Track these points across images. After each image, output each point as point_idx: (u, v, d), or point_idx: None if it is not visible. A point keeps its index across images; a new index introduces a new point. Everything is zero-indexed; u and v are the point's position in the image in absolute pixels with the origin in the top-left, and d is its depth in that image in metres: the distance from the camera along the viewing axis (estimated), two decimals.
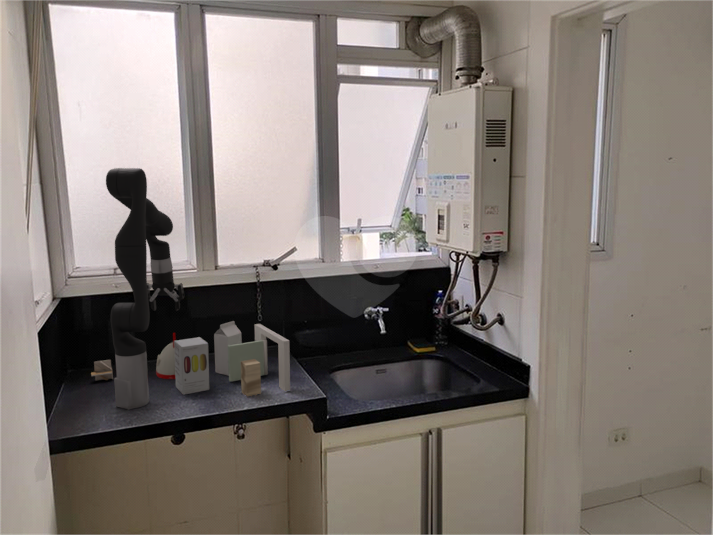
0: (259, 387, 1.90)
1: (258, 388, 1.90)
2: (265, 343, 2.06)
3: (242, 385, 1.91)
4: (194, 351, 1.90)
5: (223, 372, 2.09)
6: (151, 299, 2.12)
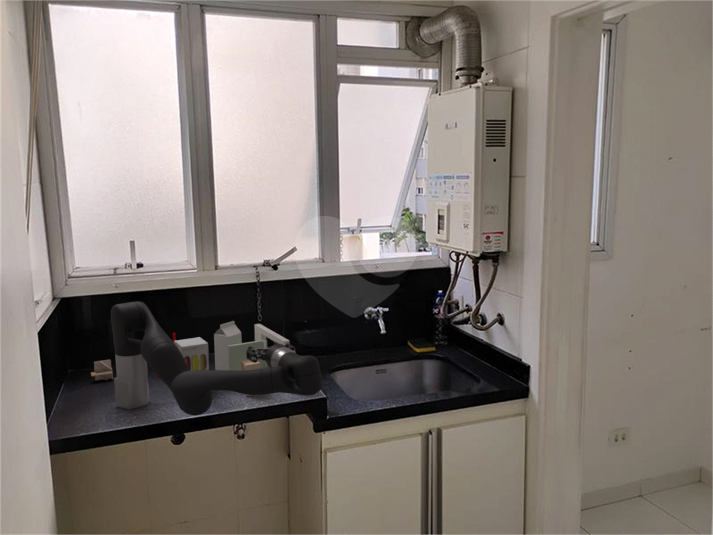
0: None
1: None
2: (265, 343, 2.06)
3: None
4: (194, 351, 1.90)
5: None
6: None
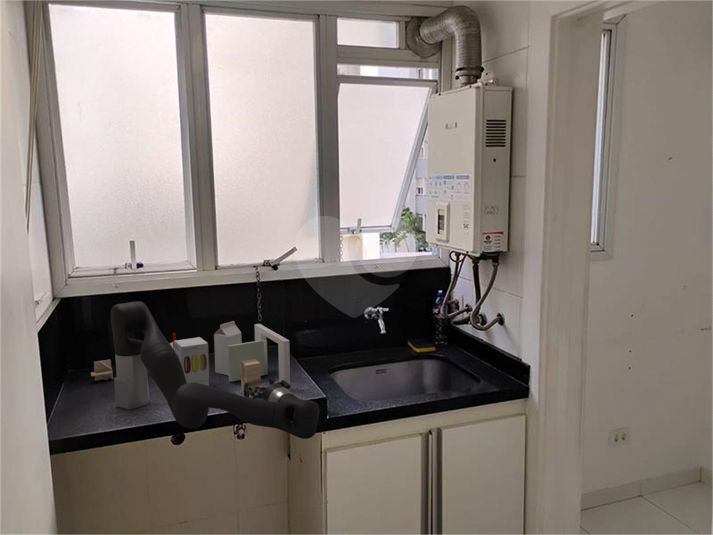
0: None
1: None
2: (265, 343, 2.06)
3: (242, 385, 1.91)
4: (194, 351, 1.90)
5: (223, 372, 2.09)
6: None
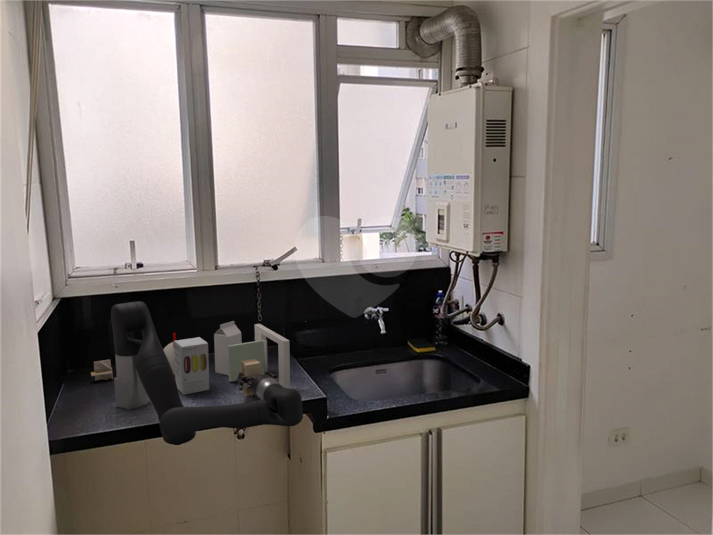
0: None
1: None
2: (265, 343, 2.06)
3: None
4: (194, 351, 1.90)
5: (223, 372, 2.09)
6: None
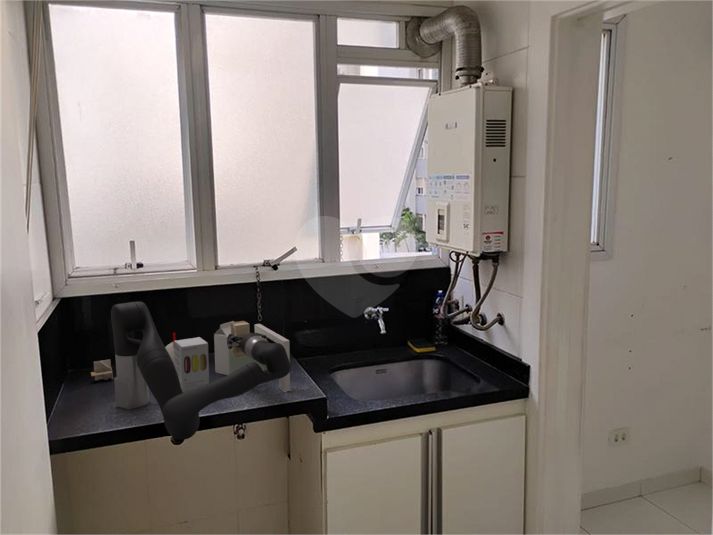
0: None
1: None
2: None
3: None
4: (194, 351, 1.90)
5: (223, 372, 2.09)
6: None
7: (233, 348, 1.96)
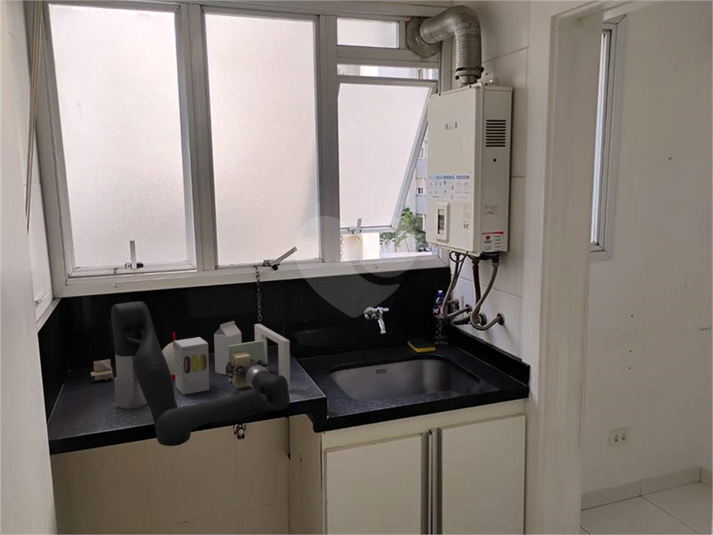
0: None
1: None
2: (265, 343, 2.06)
3: (233, 377, 1.99)
4: (194, 351, 1.90)
5: (223, 372, 2.09)
6: None
7: (234, 379, 1.98)
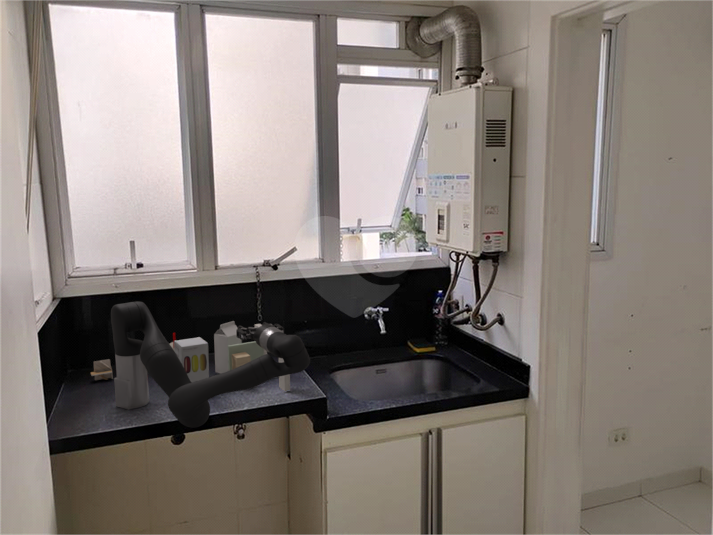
0: None
1: None
2: None
3: None
4: (194, 351, 1.90)
5: (223, 372, 2.09)
6: None
7: None
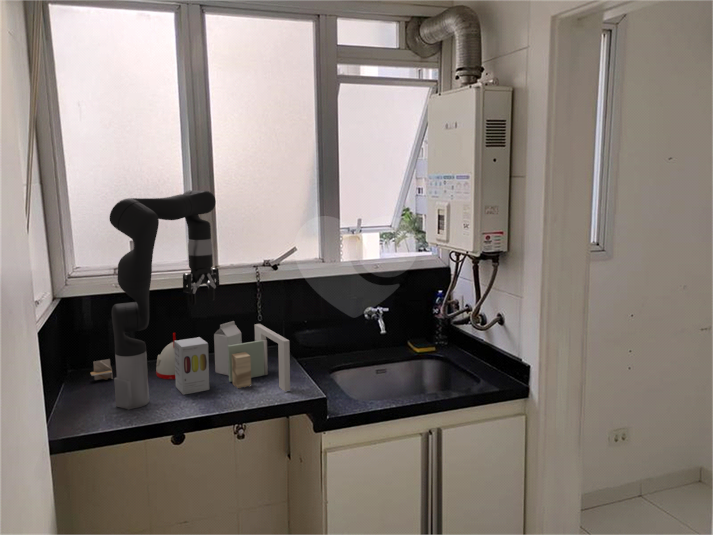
0: (249, 379, 1.98)
1: (248, 380, 1.98)
2: (265, 343, 2.06)
3: (233, 377, 1.99)
4: (194, 351, 1.90)
5: (223, 372, 2.09)
6: (194, 290, 1.79)
7: (234, 379, 1.98)
